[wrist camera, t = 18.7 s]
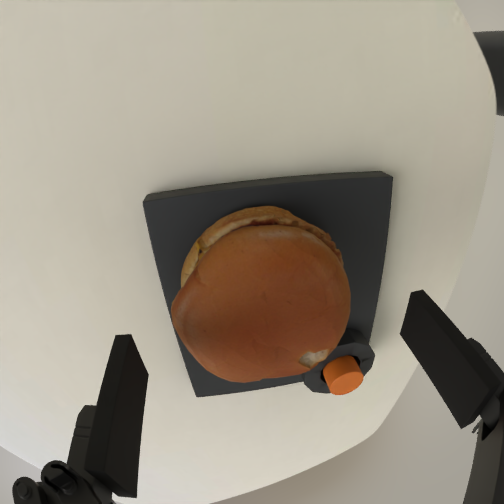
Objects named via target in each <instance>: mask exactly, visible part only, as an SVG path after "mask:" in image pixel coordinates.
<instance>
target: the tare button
mask: <svg viewBox="0 0 504 504" xmlns="http://www.w3.org/2000/svg"><path fill="white" fill-rule="evenodd" d="M323 375H324V378H325V380H326V383H327V385H328V387H329V390H330V392H331V393H332V394H335V395H343V394H347V393H349V392H351V391H353V390H355V389H356V388H357V387H358V386H359V385H360V384H361V383H362V381H363V374H362V372H361V370H360V368H359V366H358V364H357V362H356V360H355V359H354V358H353V357H352V356H349V355H346V356H342V357H338V358H336V359H334V360H333V361H331V362H329V363H328V364H327V365H326V366H325V367H324V369H323Z"/></svg>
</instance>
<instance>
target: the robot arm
mask: <svg viewBox="0 0 504 504" xmlns="http://www.w3.org/2000/svg"><path fill="white" fill-rule="evenodd" d="M400 335H401V336H402V338H403V339H404V341H405V342H406V344H407V345H408V347H409V348H410V350H411V351H412V352H413V354H414V355H415V357H416V358H417V360H418V361H419V363H420V364H421V366H422V367H423V369H424V370H425V372H426V373H427V375H428V376H429V378H430V379H431V381H432V383H433V384H434V386H435V387H436V389H437V390H438V392H439V394H440V395H441V397H442V398H443V400H444V402H445V403H446V405H447V406H448V408H449V409H450V411H451V413H452V415H453V416H454V418H455V420H456V421H457V423H458V425H459V426H460V428H461V429H462V428H464V427H466V426H467V425H469V424H471V423H473V422H474V421H475V419H476V418H477V417H478V416H479V414H480V416H481V418H482V419H481V420H480V421H479V423H478V424H477V425H476V426H475V427H474V429H473V431H472V433H474V432H475V431H476V430H477V429H478V428H479V430H478V432H477V434H478V437H477V443H476V449H475V454H474V460H473V465H472V469H471V474H470V478H469V483H468V486H467V490H466V494H465V498H464V501H463V504H504V373H503V371H502V370H501V369H500V367H499V366H498V365H497V364H496V362H495V361H494V360H493V359H491V356H490V355H489V354H488V353H486V350H485V349H484V348H483V346H482V345H481V344H480V343H479V342H477V341H476V340H474V339H472V338H469V339H466V337H465V336H464V335H463V334H462V333H461V332H460V331H459V329H458V328H457V327H456V326H455V325H454V324H453V322H452V321H451V320H450V319H449V318H448V317H447V316H446V314H445V313H444V312H443V311H442V310H441V309H440V308H439V307H438V305H437V304H436V303H435V302H434V301H433V300H432V299H431V298H430V297H429V296H428V295H427V294H426V292H425V291H424V290H419V291H415V292H411V294H410V298H409V303H408V306H407V310H406V314H405V318H404V321H403V325H402V329H401V332H400ZM148 376H149V374H148V372H147V370H146V368H145V366H144V363H143V361H142V359H141V357H140V354H139V352H138V350H137V347H136V345H135V342H134V340H133V338H132V335H131V334H127V335H116V336H115V339H114V342H113V346H112V349H111V353H110V356H109V360H108V363H107V367H106V370H105V374H104V378H103V382H102V385H101V389H100V393H99V397H98V401H97V406H93V405H85V406H84V407H83V409H82V410H81V412H80V413H79V414H78V417H77V421H76V425H75V426H76V428H75V429H74V433H73V435H74V437H73V438H72V442H71V446H70V451H69V456H68V460H67V464H66V463H64V462H62V461H57V460H54V461H51V462H49V463H47V464H46V465H45V466H44V468H43V470H42V472H41V480H42V482H35V481H34V480H32V479H30V478H28V477H21V478H19V479H17V480H16V481H15V483H14V485H13V490H12V491H13V498H14V503H15V504H116V503H115V502H114V501H113V500H112V492H113V493H115V494H116V495H117V496H121V497H131V498H137V483H138V468H139V455H140V444H141V433H142V424H143V415H144V406H145V398H146V390H147V383H148Z"/></svg>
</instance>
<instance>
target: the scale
mask: <svg viewBox="0 0 504 504" xmlns="http://www.w3.org/2000/svg"><path fill="white" fill-rule="evenodd" d="M392 183H393V177H392V176H390V175H388V174H386V173H384V172H382V171H372V172H350V173H332V174H317V175H304V176H292V177H280V178H270V179H259V180H250V181H241V182H232V183H224V184H216V185H208V186H201V187H193V188H186V189H179V190H173V191H166V192H160V193H153V194H148V195H147V196H146V197H145V199H144V201H143V208H144V213H145V217H146V222H147V227H148V231H149V236H150V240H151V245H152V249H153V253H154V257H155V261H156V265H157V269H158V273H159V277H160V281H161V285H162V289H163V292H164V296H165V300H166V303H167V307H168V310H169V314H170V317H171V321H172V315H171V306H172V302H173V301H174V299H175V297H176V295H177V293H178V292H179V290H180V289H181V272H182V268H183V265H184V262H185V259H186V257H187V255H188V254H189V252H190V250H191V248H192V246H193V245H194V243H195V242H196V240H197V239H198V238H199V237H200V236H201V235H202V234H203V233H204V232H205V230H206V229H207V228H209V227H210V226H212V225H213V224H215V223H216V222H217V221H218V220H219V219H221V218H223V217H225V216H227V215H229V214H232V213H234V212H237V211H241V210H243V209H245V208H253V207H261V206H275V207H278V208H282V209H284V210H287V211H289V212H290V213H291V214H292V215H294V216H296V217H298V218H300V219H302V220H304V221H306V222H307V223H309V224H312V225H314V226H316V227H318V228H320V229H322V230H323V231H324V232H325V233H329V235H330V237H331V241H333V242H334V243H335V244H336V249H339V250H340V252H341V255H342V260H343V263H344V264H343V268H344V270H345V273H346V275H347V278H348V282H349V287H350V293H351V298H350V315H349V319H348V322H347V326H346V329H345V332H344V334H343V336H342V337H341V339H340V341H339V343H338V345H337V346H336V348H335V349H334V350H333V351H332V352H331V353H330V354H329V356H328V357H327V358H326V359H325V360H323V361H321V362H319V363H318V365H317V366H315V367H314V368H313V369H311V370H310V371H307V372H305V373H302V374H299V375H293V376H286V377H279V378H262V379H261V380H260V381H253V382H246V383H241V382H231V381H228V380H225V379H222V378H220V377H218V376H216V375H214V374H212V373H211V372H209V371H207V370H206V369H205V368H204V367H203V366H202V365H201V364H200V363H199V362H198V361H197V360H196V359H195V358H194V357H193V355H192V354H191V353H190V352H189V350H188V349H187V348H186V347H185V345H184V343H183V342H182V340H181V339H180V337H179V335H178V333H177V331H176V329H175V327H174V325H173V328H174V331H175V334H176V337H177V341H178V344H179V347H180V350H181V353H182V356H183V360H184V363H185V366H186V369H187V372H188V375H189V377H190V380H191V383H192V386H193V389H194V392H195V395H196V397H205V396H214V395H223V394H231V393H238V392H246V391H252V390H259V389H265V388H271V387H277V386H282V385H288V384H293V383H298V382H303V381H304V384H305V385H306V386H307V387H308V388H309V389H310V390H311V391H312V392H318V393H331V392H330V390H329V387H328V385H327V383H326V380H325V378H324V375H323V369H324V367H325V366H326V365H327V364H328V363H329V362H331V361H333V360H334V359H336V358H338V357H342V356H346V355H349V356H352V357H353V358H354V359H355V360H356V362H357V364H358V366H359V368H360V370H361V372H362V374H363V377H364V376H365V375H366V373H367V372H368V371H369V370H370V369H371V367H372V364H373V361H374V357H375V354H374V352H373V350H372V349H371V347H370V345H369V341H370V336H371V332H372V327H373V322H374V317H375V312H376V307H377V302H378V297H379V291H380V285H381V279H382V273H383V266H384V260H385V252H386V245H387V237H388V228H389V219H390V209H391V197H392ZM172 324H173V321H172Z"/></svg>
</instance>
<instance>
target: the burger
mask: <svg viewBox="0 0 504 504" xmlns="http://www.w3.org/2000/svg"><path fill="white" fill-rule="evenodd" d="M343 264H344V263H343V260H342V255H341V252H340V250H339V249H336V244H335V243H334V242H333V241H331V237H330V235H329V233H325V232H324V231H323V230H322V229H320V228H318V227H316V226H314V225H312V224H309V223H307V222H306V221H304V220H302V219H300V218H298V217H296V216H294V215H292V214H291V213H290V212H289V211H287V210H284V209H282V208H278V207H275V206H261V207H253V208H245V209H243V210H241V211H237V212H234V213H232V214H229V215H227V216H225V217H223V218H221V219H219V220H218V221H217V222H216V223H215V224H213V225H212V226H210V227H209V228H207V229H206V230H205V232H204V233H203V234H202V235H201V236H200V237H199V238H198V239H197V240H196V242H195V243H194V245H193V246H192V248H191V250H190V252H189V254H188V255H187V257H186V259H185V262H184V265H183V268H182V272H181V289H180V290H179V292H178V293H177V295H176V297H175V299H174V301H173V302H172V306H171V315H172V321H173V325H174V327H175V329H176V331H177V333H178V335H179V337H180V339H181V340H182V342H183V343H184V345H185V347H186V348H187V349H188V350H189V352H190V353H191V354H192V355H193V357H194V358H195V359H196V360H197V361H198V362H199V363H200V364H201V365H202V366H203V367H204V368H205V369H206V370H207V371H209V372H211V373H212V374H214V375H216V376H218V377H220V378H222V379H225V380H228V381H231V382H241V383H246V382H253V381H260V380H261V379H262V378H279V377H286V376H293V375H299V374H302V373H305V372H307V371H310V370H311V369H313V368H314V367H315V366H317V365H318V363H319V362H321V361H323V360H325V359H326V358H327V357H328V356H329V354H330V353H331V352H332V351H333V350H334V349H335V348H336V346H337V345H338V343H339V341H340V339H341V337H342V336H343V334H344V332H345V329H346V326H347V322H348V319H349V315H350V298H351V293H350V287H349V282H348V278H347V275H346V273H345V270H344V268H343Z"/></svg>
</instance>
